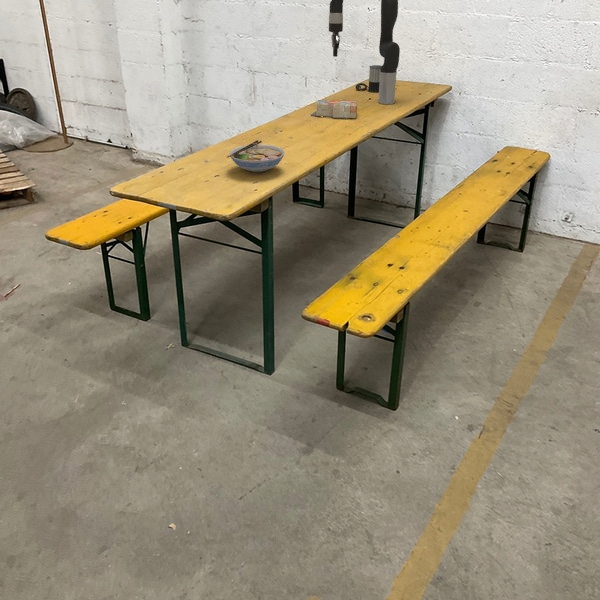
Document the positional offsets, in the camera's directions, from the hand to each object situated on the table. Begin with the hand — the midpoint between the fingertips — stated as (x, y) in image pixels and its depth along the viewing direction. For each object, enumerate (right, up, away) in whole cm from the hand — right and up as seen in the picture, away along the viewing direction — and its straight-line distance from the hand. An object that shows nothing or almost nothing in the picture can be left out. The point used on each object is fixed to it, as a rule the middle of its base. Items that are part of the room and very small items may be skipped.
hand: (335, 56), depth 340 cm
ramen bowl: (-37, -80, -83) cm, 121 cm away
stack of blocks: (+1, -28, -2) cm, 28 cm away
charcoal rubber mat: (-2, -34, -5) cm, 34 cm away
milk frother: (+24, -2, +50) cm, 56 cm away
